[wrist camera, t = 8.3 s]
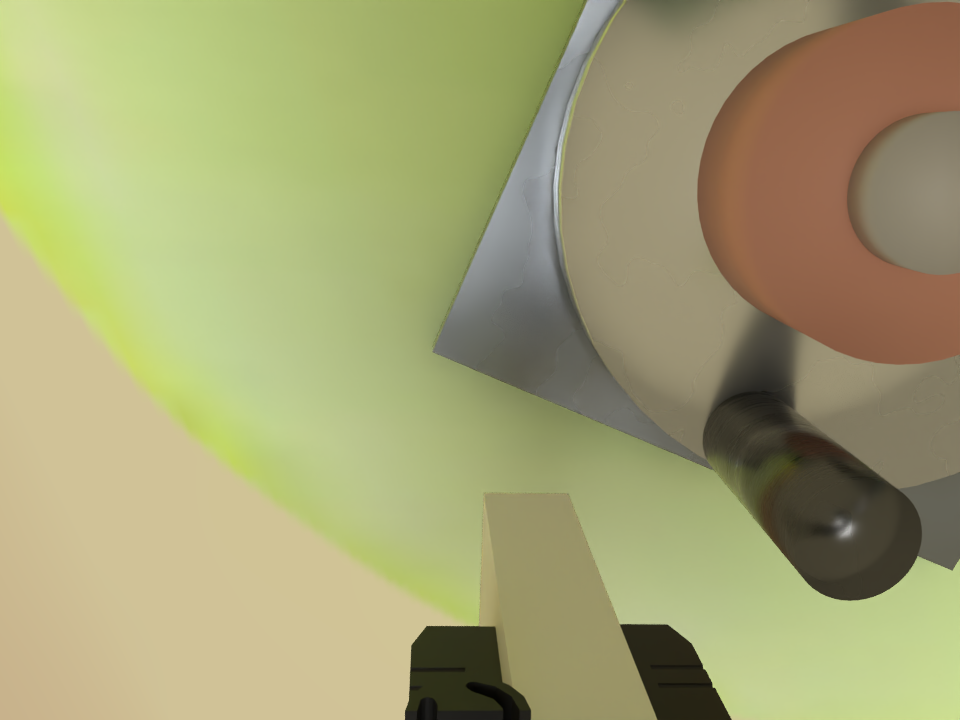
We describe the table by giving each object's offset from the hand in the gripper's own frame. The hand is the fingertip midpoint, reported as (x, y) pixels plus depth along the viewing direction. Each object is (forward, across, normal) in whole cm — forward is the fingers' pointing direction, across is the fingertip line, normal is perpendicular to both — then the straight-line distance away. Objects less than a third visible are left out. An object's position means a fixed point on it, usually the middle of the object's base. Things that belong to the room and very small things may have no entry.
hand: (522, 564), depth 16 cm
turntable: (+9, +9, +6) cm, 14 cm away
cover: (+6, +8, +7) cm, 12 cm away
